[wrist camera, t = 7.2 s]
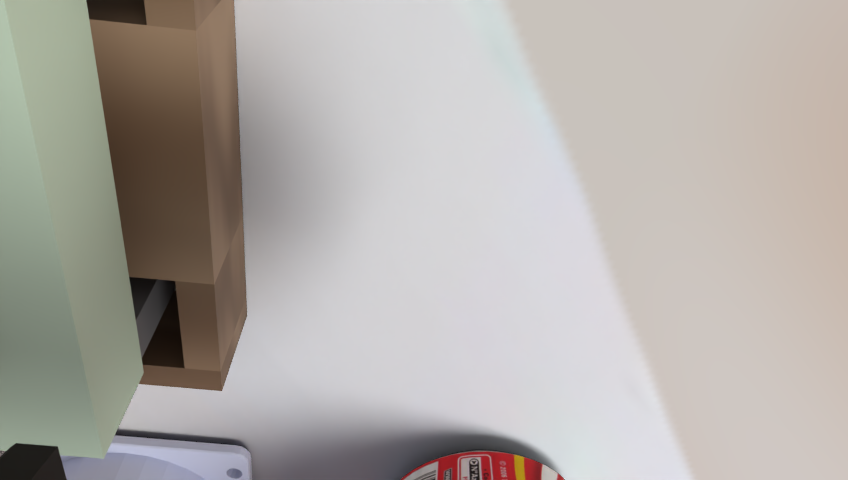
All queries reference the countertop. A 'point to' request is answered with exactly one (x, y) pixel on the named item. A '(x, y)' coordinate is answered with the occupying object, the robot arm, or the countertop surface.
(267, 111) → the countertop surface
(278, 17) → the countertop surface
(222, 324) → the post base
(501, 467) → the soda can
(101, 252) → the green toy bench
